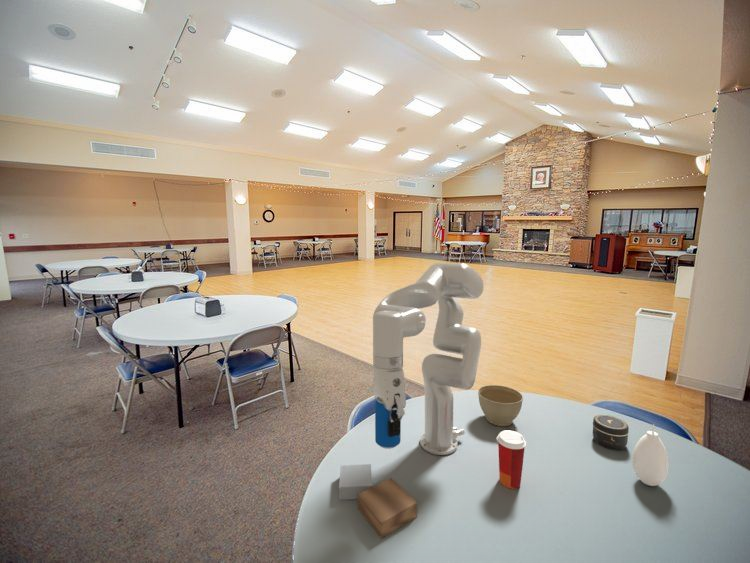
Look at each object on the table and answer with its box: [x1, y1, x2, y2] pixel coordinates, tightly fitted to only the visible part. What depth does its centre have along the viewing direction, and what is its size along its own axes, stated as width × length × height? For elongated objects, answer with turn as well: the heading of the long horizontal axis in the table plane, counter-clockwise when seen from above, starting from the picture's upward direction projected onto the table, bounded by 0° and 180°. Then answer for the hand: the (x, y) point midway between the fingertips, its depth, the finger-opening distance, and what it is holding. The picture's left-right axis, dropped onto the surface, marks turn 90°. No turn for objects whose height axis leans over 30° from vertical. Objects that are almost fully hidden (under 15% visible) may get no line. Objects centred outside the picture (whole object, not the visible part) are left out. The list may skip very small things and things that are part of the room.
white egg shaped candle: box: [631, 423, 670, 487], centre depth 96 cm, size 8×8×18 cm
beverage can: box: [374, 397, 402, 450], centre depth 87 cm, size 6×6×12 cm
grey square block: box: [338, 463, 373, 501], centre depth 97 cm, size 9×9×4 cm
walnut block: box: [356, 477, 418, 539], centre depth 88 cm, size 11×11×4 cm
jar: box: [592, 414, 630, 451], centre depth 116 cm, size 10×10×8 cm
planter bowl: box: [477, 384, 524, 427], centre depth 131 cm, size 16×16×11 cm
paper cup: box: [496, 429, 527, 490], centre depth 97 cm, size 8×8×14 cm
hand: (387, 427), depth 87 cm, fingers closed on beverage can, 6 cm apart
